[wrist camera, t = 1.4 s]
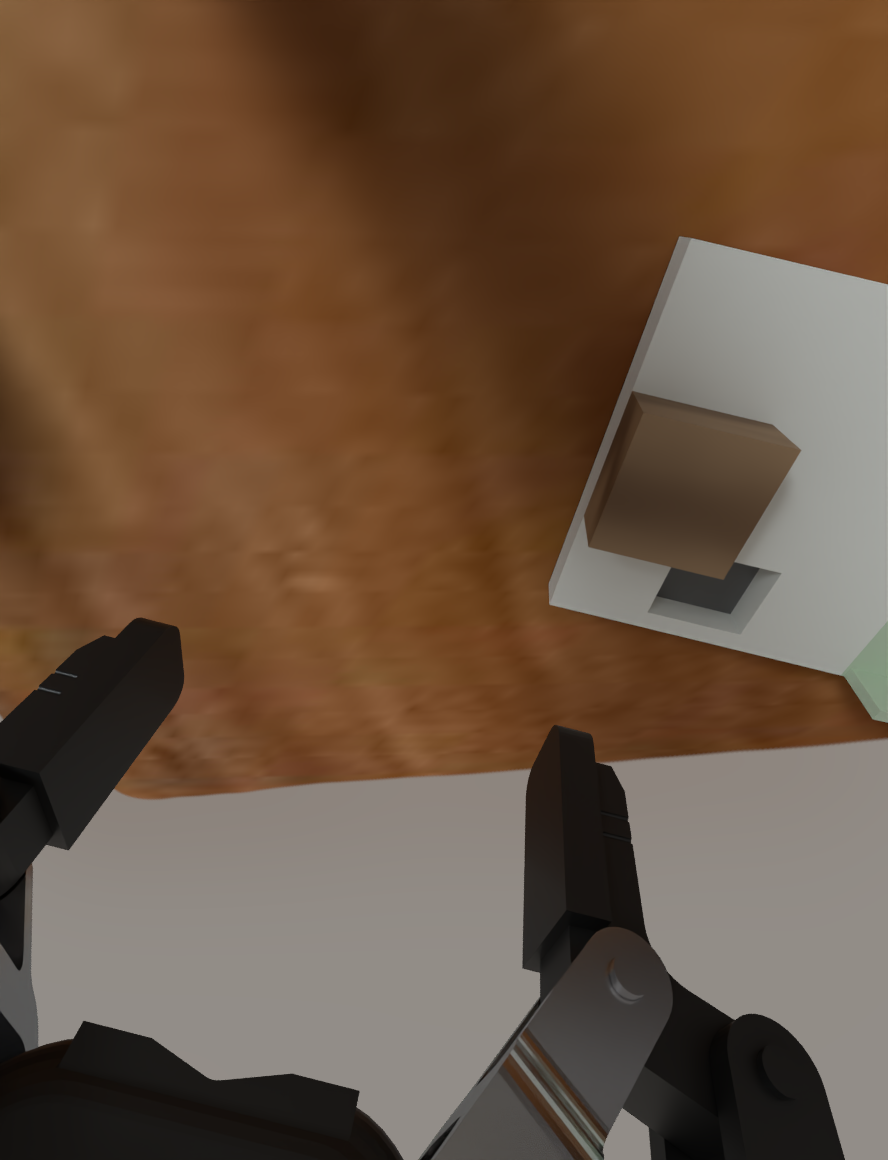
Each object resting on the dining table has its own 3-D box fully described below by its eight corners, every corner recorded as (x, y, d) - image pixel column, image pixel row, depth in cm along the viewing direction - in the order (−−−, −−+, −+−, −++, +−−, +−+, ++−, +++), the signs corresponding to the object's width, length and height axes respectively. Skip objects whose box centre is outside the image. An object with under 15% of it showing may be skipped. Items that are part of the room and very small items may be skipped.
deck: (679, 236, 21) (713, 241, 17) (1286, 380, 21) (1469, 420, 17) (548, 583, 31) (550, 640, 27) (963, 684, 31) (1028, 757, 27)
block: (632, 390, 23) (643, 412, 20) (772, 424, 23) (801, 450, 20) (583, 515, 26) (588, 547, 24) (705, 545, 26) (723, 579, 24)
